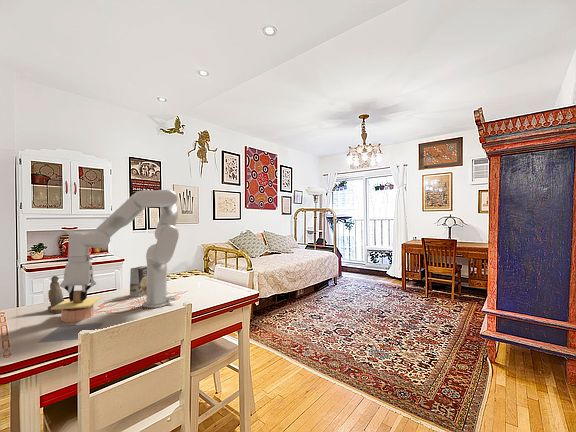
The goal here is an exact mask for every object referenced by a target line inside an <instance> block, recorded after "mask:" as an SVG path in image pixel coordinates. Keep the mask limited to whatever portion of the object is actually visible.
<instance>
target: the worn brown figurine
mask: <svg viewBox="0 0 576 432" xmlns="http://www.w3.org/2000/svg"><path fill="white" fill-rule="evenodd" d="M50 279H51V280H50V281H51V282H50V284H49V290H48V292H47V294H48V300H49V302H50V303H49V304H50V306H47V311H48V310H49V311H48V312H51V313H52V314H54V315H59V314H60V315H61V309H55V310H51V308H52V307H54V306H56V305H58V304H59V303H61V302H63V301H65V298H64V296H63V295H64V294H63V291H62V288H60V285H61V284H60V283H59V282H58V281H59V279H60V278H59V277H58V275H53V276H52V277H51V278H50Z"/></svg>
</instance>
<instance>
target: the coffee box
mask: <svg viewBox="0 0 576 432" xmlns="http://www.w3.org/2000/svg"><path fill="white" fill-rule="evenodd" d="M129 272H130V274H129V275H130V277H129V278H130V279H129V297H135V298H139V297H143V296H145V295H147V265H145V266H136V267H132V268H130V271H129Z"/></svg>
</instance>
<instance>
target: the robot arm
mask: <svg viewBox="0 0 576 432" xmlns="http://www.w3.org/2000/svg"><path fill="white" fill-rule="evenodd" d="M177 202H178V195H177V193H176V192H175V191H174V190H172V189H158V190H157V189H155V190H154V189H152V190H151V189H150V190H148V189H147V190H145V189H143V190H139V191H136V192H134V193H132V195H131V196H130V197H129V198H128V199H126V200H125V202H123V204H121V205H120V206H119V207H118V208H117V209H116V210H114V212H113V213H111V214H110V216H108V218H106V219H105V220H104V221H103V222H101V224H99V225H98V227H97V228H95V229H94V230H93V231H92V232H85V231H75V232H70V234H69V235H68V251H67V253H68V254H67V255H68V257H67V258H68V262H67V263H66V264H65V268H64V272H63V280H62V282H61V283H60V284H59V285H60V287H61V289H64V290H66V291H67V293H68V299H70V302H72V301H73V291H75V287H76V286H81V289H82V292H81V301H84V300H85V299H86V298H88V290H90V288H92V287H94V286H95V285H97V282H96V281H95V279H94V269H93V263H92V261H93V258H94V257H93V256H90V248H94V249H102V248H105V247H107V246H108V245H109V244H110V242H111V238H112V237H113V236H114V235H115V233H117V232H118V231H119V230H121V229H122V228H124V227H126V226H128V225H129V224H130V223H132V221H134V220H135V219H136V218H137V216H139V215H140V214H141V213H142V212H143V211H144V210H145V209H146V208H160V216H159V220H158V223H157V225H156V228H155V231H154V237H155V239H156V243H154V244H151V245H150V246H149V247H148V248H147V249H146V252H145V253H146V254H145V258H146V266H147V294H146V301H144V302H143V303H142V307H144V308H149V309H150V308H151V309H153V308H154V309H155V308H160V307H165V306H167V305H169V304H170V301H176V296H174V295H169V294H168V292H167V289H168V286H167V283H168V280H167V278H168V266H167V264H168V263H169V262H170V261H171V260H172V258H173V257H174V253H175V250H176V247H177V244H178V241H179V235H180V233H179V232H180V231H179V229H178V228H177V227H176V224H177V221H178V216H179V211H178V207H177V204H176V203H177Z"/></svg>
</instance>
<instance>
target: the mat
mask: <svg viewBox="0 0 576 432" xmlns="http://www.w3.org/2000/svg"><path fill="white" fill-rule="evenodd" d="M104 324H105V322H96V323H81V324H71V325H70V324H69V325H68V324H67V325H60V326H58V327H57V328H56V329H54V330H53V331H51V332H50V333H48V334H47V335H46V336H44V337H43V338H42V339H40V340H38V341H37V342H36V344H39V343H49V342H50V343H52V342H62V341H73V340H79V339H78V333H79V332H80V331H82V330H95V329H98V330H99V329H100V328H101V327H103V325H104Z"/></svg>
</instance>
